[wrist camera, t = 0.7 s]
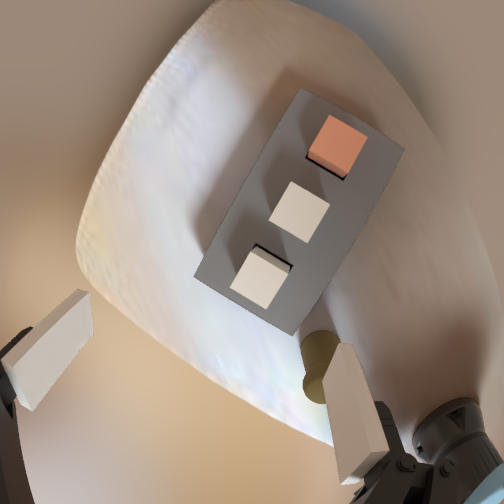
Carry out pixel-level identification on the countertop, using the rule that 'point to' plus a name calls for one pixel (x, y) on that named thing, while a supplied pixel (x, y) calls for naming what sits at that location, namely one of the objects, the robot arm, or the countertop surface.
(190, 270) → the countertop surface
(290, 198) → the cream white cube
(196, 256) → the countertop surface
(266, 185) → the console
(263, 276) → the cream square button
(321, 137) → the terracotta button
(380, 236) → the countertop surface
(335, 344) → the cork
